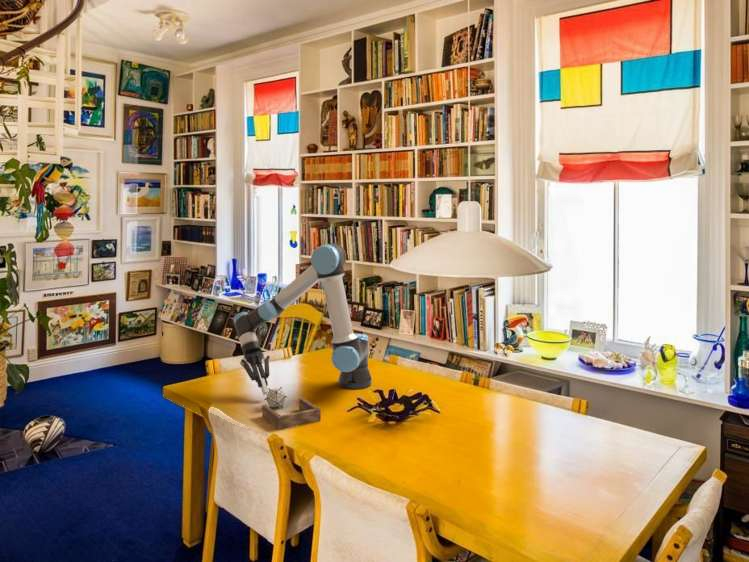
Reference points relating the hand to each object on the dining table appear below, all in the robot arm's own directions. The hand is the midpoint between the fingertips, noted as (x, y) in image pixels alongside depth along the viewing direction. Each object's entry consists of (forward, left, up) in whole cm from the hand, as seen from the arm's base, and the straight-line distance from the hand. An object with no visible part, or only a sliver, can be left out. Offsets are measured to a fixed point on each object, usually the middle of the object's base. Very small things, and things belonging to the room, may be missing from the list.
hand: (265, 393), depth 244 cm
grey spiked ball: (0, +10, -4) cm, 10 cm away
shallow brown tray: (0, +24, -3) cm, 24 cm away
